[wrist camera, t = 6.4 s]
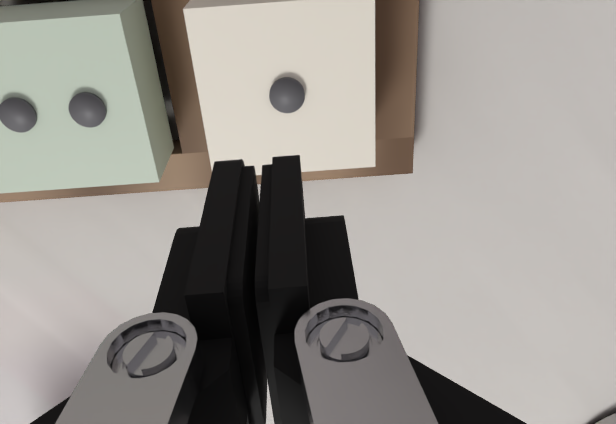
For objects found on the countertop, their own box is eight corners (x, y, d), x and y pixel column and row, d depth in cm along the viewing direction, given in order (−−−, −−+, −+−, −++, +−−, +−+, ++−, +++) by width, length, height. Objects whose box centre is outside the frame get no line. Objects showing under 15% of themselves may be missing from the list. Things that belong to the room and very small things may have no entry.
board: (414, -92, 20) (422, -89, 19) (406, 157, 25) (412, 173, 24) (-295, -37, 20) (-335, -31, 19) (-156, 197, 25) (-180, 215, 24)
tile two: (141, -5, 20) (117, 15, 17) (173, 147, 23) (158, 184, 20) (-25, 8, 20) (-75, 29, 17) (31, 157, 23) (-4, 196, 20)
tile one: (363, -21, 20) (375, -5, 17) (365, 133, 23) (376, 169, 20) (196, -9, 20) (181, 10, 17) (221, 144, 23) (212, 181, 20)
